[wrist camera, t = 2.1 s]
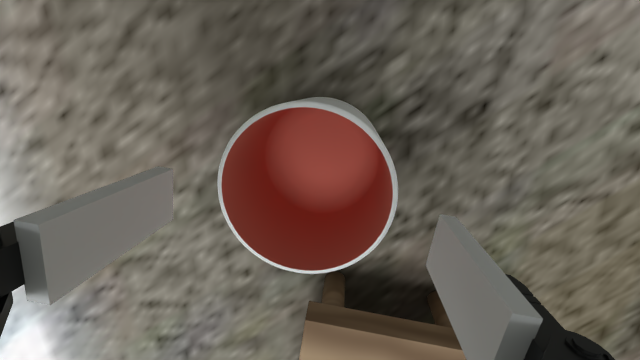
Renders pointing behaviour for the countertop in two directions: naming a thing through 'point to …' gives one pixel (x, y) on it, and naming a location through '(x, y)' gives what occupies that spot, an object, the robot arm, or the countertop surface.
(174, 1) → the countertop surface
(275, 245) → the cup
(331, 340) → the stool
